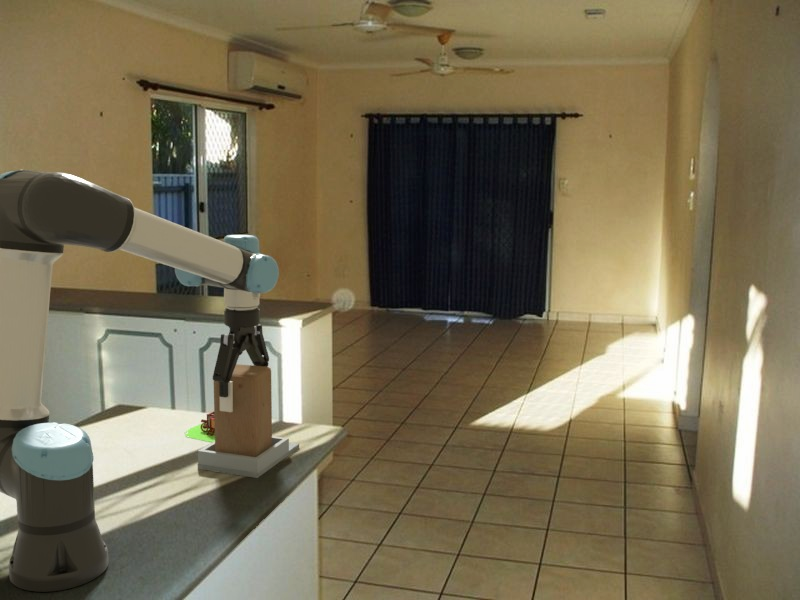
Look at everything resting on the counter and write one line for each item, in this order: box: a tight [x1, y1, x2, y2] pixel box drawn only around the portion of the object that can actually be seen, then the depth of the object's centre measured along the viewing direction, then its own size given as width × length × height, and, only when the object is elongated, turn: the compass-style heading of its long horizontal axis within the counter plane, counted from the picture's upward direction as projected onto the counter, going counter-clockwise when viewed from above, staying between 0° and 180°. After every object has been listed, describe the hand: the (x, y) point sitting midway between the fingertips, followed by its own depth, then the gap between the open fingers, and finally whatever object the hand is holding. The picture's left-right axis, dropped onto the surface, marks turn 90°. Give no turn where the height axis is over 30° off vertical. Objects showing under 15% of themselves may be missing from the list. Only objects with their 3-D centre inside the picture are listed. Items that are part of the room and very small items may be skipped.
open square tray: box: [197, 435, 300, 479], centre depth 193 cm, size 20×14×5 cm
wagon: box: [184, 411, 215, 443], centre depth 211 cm, size 15×15×6 cm
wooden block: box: [213, 363, 273, 457], centre depth 189 cm, size 10×10×20 cm
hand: (242, 403), depth 188 cm, fingers open, 13 cm apart
